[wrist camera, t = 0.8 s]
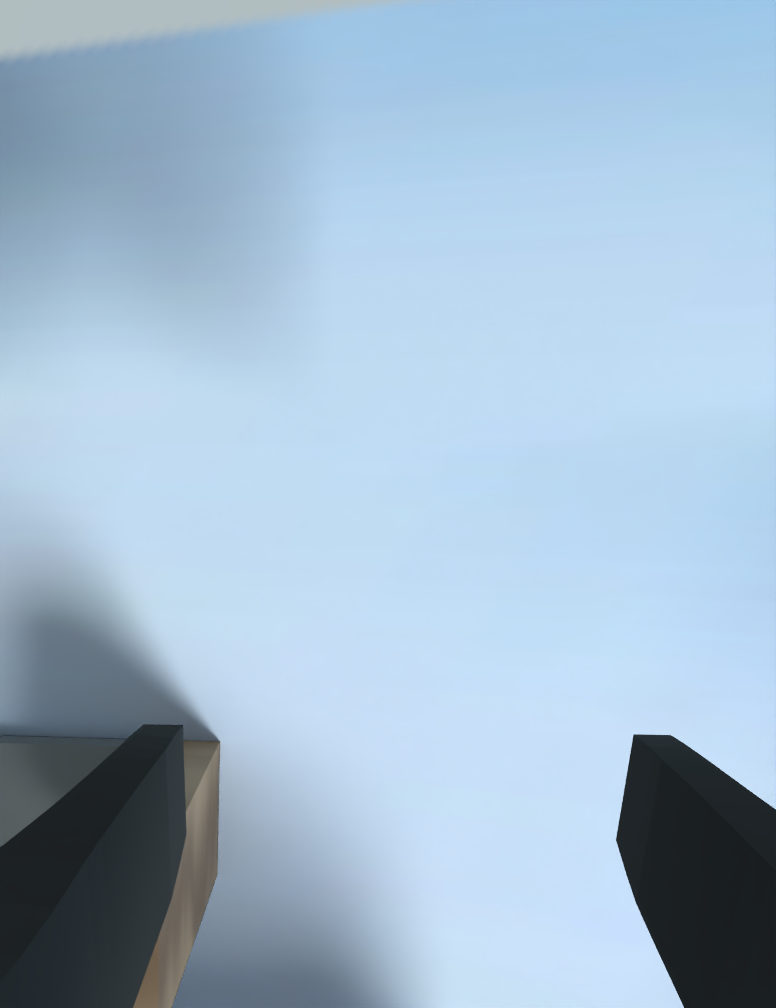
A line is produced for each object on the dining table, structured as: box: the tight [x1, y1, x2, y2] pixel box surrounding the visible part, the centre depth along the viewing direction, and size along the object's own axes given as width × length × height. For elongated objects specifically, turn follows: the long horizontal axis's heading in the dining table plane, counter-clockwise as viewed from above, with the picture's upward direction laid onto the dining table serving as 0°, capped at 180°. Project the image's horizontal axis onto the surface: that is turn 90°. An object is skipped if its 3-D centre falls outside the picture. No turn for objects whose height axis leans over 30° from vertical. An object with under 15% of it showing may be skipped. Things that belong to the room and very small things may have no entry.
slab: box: [133, 740, 220, 1008], centre depth 22 cm, size 5×2×8 cm, turn 178°
